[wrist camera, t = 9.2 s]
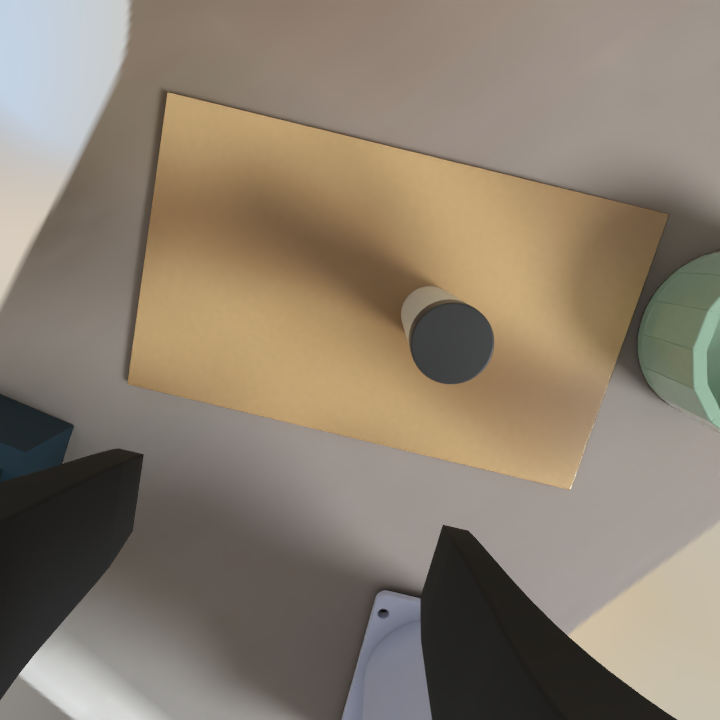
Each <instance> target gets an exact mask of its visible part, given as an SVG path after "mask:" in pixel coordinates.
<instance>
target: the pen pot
mask: <svg viewBox="0 0 720 720" xmlns="http://www.w3.org/2000/svg"><path fill="white" fill-rule="evenodd" d="M638 357H639V362H640V365H641V369H642V372H643V374H644V376H645V379H646V380H647V382H648V383H649V385H650V387H651V388H652V389H653V390H654V392H655V393H656V394H657V395H658V396H659V397H660V398H661V399H662V400H664V401H665V402H666V403H668V404H669V405H671V406H672V407H674V408H676V409H677V410H679V411H680V412H681V413H683V414H684V415H686V416H688V417H690V418H692V419H693V420H695V421H697V422H699V423H701V424H703V425H705V426H707V427H708V428H710V429H712V430H714V431H716V432H718V433H720V251H717V252H713V253H710V254H707V255H704V256H701V257H699V258H697V259H695V260H693V261H691V262H689V263H687V264H686V265H684V266H683V267H681V268H680V269H678V270H677V271H676V272H675V273H673V274H672V275H671V276H670V277H669V278H668V279H667V280H666V281H665V282H664V283H663V284H662V285H661V286H660V287H659V289H658V290H657V291H656V293H655V294H654V295H653V297H652V298H651V300H650V302H649V304H648V305H647V307H646V310H645V312H644V314H643V317H642V320H641V323H640V327H639V333H638Z"/></svg>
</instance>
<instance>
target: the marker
mask: <svg viewBox="0 0 720 720" xmlns="http://www.w3.org/2000/svg"><path fill="white" fill-rule="evenodd" d="M401 320H402V324H403V327H404V331H405V334H406V337H407V341H408V344H409V348H410V351H411V355H412V358H413V360H414V362H415V364H416V366H417V367H418V369H419V370H420V371H421V372H422V373H423V374H424V375H425V376H426V377H428V378H430V379H431V380H433V381H435V382H438V383H442V384H460V383H464V382H467V381H469V380H471V379H473V378H474V377H476V376H477V375H479V374H480V373H481V372H482V371H483V370H484V369H485V368H486V366H487V365H488V363H489V361H490V359H491V357H492V354H493V350H494V334H493V330H492V327H491V325H490V323H489V322H488V320H487V319H486V317H485V316H484V315H483V314H482V313H481V312H480V311H479V310H477V309H475V308H474V307H472V306H470V305H469V304H467V303H465V302H464V301H462V300H460V299H459V298H457V297H455V296H453V295H452V294H450V293H448V292H447V291H445V290H443V289H441V288H438V287H434V286H425V287H421V288H418V289H416V290H415V291H413V292H412V293H411V294H410V295H409V296H408V297H407V298H406V300H405V301H404V303H403V306H402V310H401Z"/></svg>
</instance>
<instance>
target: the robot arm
mask: <svg viewBox="0 0 720 720" xmlns="http://www.w3.org/2000/svg"><path fill="white" fill-rule="evenodd" d="M143 455H144V454H139V453H135V452H131V451H127V450H122V449H113V450H108V451H104V452H101V453H97V454H94V455H90V456H87V457H83V458H80V459H77V460H74V461H70V462H67V463H64V464H61V465H57V466H54V467H51V468H47V469H44V470H41V471H38V472H34V473H31V474H27V475H23V476H19V477H16V478H12V479H8V480H4V481H1V482H0V700H1V698H2V697H3V695H4V694H5V693H6V691H7V690H8V688H9V687H10V686H11V684H12V683H13V681H14V680H15V679H16V677H17V676H18V675H19V673H20V672H21V671H22V669H23V668H24V667H25V666H26V664H27V663H28V662H29V661H30V659H31V658H32V657H33V656H34V654H35V653H36V652H37V651H38V650H39V648H40V647H41V646H42V645H43V644H44V643H45V641H46V640H47V639H48V638H49V637H50V636H51V635H52V633H53V632H54V631H55V630H56V629H57V628H58V626H59V625H60V624H61V623H62V622H63V621H64V619H65V618H66V617H67V616H68V615H69V614H70V613H71V611H72V610H73V609H74V608H75V607H76V606H77V604H78V603H79V602H80V601H81V600H82V599H83V597H84V596H85V595H86V594H87V593H88V592H89V590H90V589H91V588H92V587H93V586H94V585H95V583H96V582H97V581H98V580H99V579H100V577H101V576H102V575H103V574H104V573H105V571H106V570H107V569H108V568H109V566H110V565H111V563H112V562H113V560H114V559H115V557H116V556H117V554H118V553H119V551H120V550H121V548H122V547H123V545H124V544H125V542H126V540H127V539H128V537H129V536H130V534H131V533H132V531H133V524H134V517H135V510H136V503H137V497H138V490H139V483H140V476H141V469H142V462H143ZM381 609H386V610H387V612H385V613H382V612H380V611H379V610H381ZM341 720H677V719H675V718H673V717H672V716H671V715H669V714H667V713H666V712H664V711H663V710H662V709H660V708H659V707H657V706H656V705H655V704H653V703H652V702H650V701H649V700H647V699H646V698H644V697H643V696H642V695H640V694H639V693H638V692H636V691H635V690H634V689H632V688H631V687H629V686H628V685H627V684H626V683H624V682H623V681H622V680H620V679H619V678H618V677H616V676H615V675H614V674H612V673H611V672H610V671H608V670H607V669H606V668H605V667H603V666H602V665H601V664H600V663H598V662H597V661H596V660H595V659H594V658H592V657H591V656H590V655H589V654H588V653H587V652H585V651H584V650H583V649H582V648H581V647H580V646H578V645H577V644H576V643H575V642H574V641H573V640H572V639H570V638H569V637H568V636H567V635H566V634H565V633H564V632H563V631H562V630H561V629H559V628H558V627H557V626H556V625H555V624H554V623H553V622H552V621H551V620H550V619H549V618H548V617H547V616H546V615H545V614H544V613H543V612H542V611H541V610H540V609H539V608H538V607H537V606H536V605H535V604H534V603H533V602H532V601H531V600H530V599H529V598H528V597H527V596H526V594H525V593H524V592H523V591H522V590H521V589H520V588H519V587H518V586H517V585H516V584H515V583H514V581H513V580H512V579H511V578H510V577H509V576H508V575H507V574H506V572H505V571H504V570H503V569H502V568H501V567H500V566H499V564H498V563H497V562H496V561H495V560H494V559H493V558H492V556H491V555H490V554H489V553H488V552H487V551H486V549H485V548H484V547H483V546H482V545H481V544H480V543H479V541H478V540H477V539H476V538H475V537H474V536H473V535H472V534H471V533H470V532H469V531H467V530H462V529H458V528H454V527H450V526H445V525H443V527H442V530H441V533H440V536H439V540H438V543H437V546H436V549H435V552H434V556H433V559H432V562H431V565H430V569H429V572H428V575H427V578H426V582H425V585H424V588H423V591H422V594H421V598H417V597H413V596H408V595H404V594H400V593H396V592H392V591H385V590H384V591H381V592H379V593H378V594H377V595H376V597H375V601H374V604H373V608H372V612H371V615H370V619H369V622H368V626H367V629H366V633H365V637H364V640H363V644H362V647H361V651H360V654H359V658H358V662H357V665H356V669H355V672H354V676H353V680H352V683H351V687H350V690H349V694H348V697H347V701H346V705H345V708H344V712H343V715H342V719H341Z"/></svg>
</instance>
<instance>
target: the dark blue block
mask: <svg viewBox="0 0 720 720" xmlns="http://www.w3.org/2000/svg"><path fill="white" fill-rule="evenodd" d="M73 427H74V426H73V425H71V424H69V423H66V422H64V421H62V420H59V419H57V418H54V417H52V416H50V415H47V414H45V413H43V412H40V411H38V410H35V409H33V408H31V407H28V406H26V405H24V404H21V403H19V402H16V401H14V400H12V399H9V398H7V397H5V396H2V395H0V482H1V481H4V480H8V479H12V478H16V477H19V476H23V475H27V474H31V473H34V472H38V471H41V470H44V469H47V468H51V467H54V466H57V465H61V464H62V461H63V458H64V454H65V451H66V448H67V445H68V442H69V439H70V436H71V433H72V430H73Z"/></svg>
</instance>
